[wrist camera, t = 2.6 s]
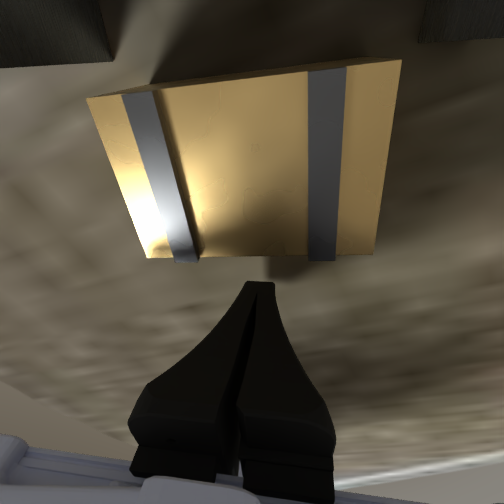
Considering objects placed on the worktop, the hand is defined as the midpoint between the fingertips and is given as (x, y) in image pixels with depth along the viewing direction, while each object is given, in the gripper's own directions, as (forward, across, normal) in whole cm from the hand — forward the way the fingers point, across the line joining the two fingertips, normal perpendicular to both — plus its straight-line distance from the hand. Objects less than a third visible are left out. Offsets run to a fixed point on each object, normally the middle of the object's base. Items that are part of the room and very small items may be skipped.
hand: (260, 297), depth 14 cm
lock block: (+2, 0, -7) cm, 7 cm away
